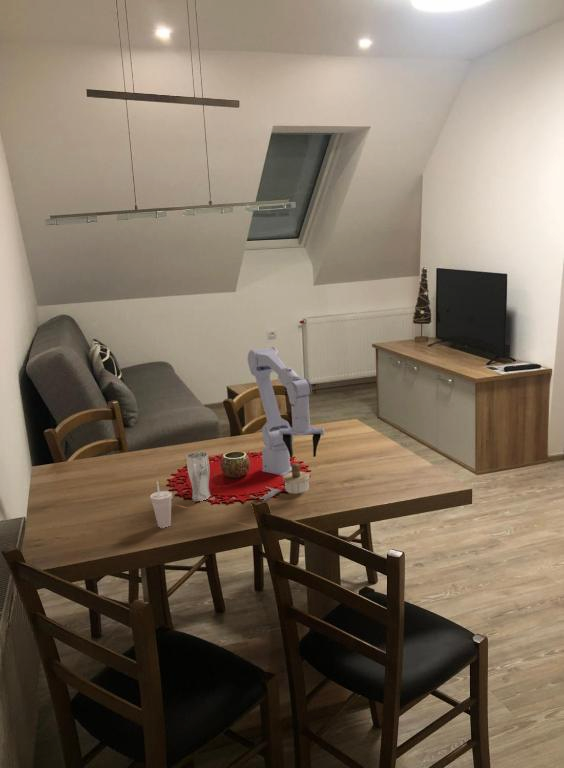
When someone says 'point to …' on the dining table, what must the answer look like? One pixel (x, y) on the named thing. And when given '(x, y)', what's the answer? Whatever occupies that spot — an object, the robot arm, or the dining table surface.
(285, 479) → the lid
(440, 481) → the dining table surface
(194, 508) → the dining table surface
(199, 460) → the beer glass
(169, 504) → the smoothie
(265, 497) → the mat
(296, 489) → the bowl
